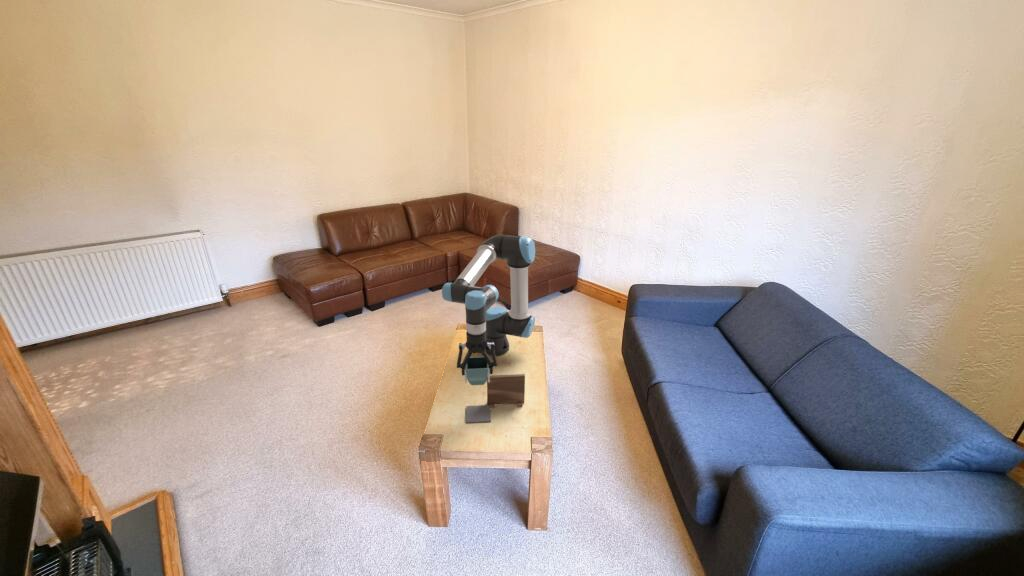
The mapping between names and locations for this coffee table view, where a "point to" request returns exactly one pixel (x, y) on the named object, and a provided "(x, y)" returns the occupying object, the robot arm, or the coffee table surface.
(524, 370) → the coffee table surface
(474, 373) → the flower pot
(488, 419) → the mat
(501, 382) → the screen
